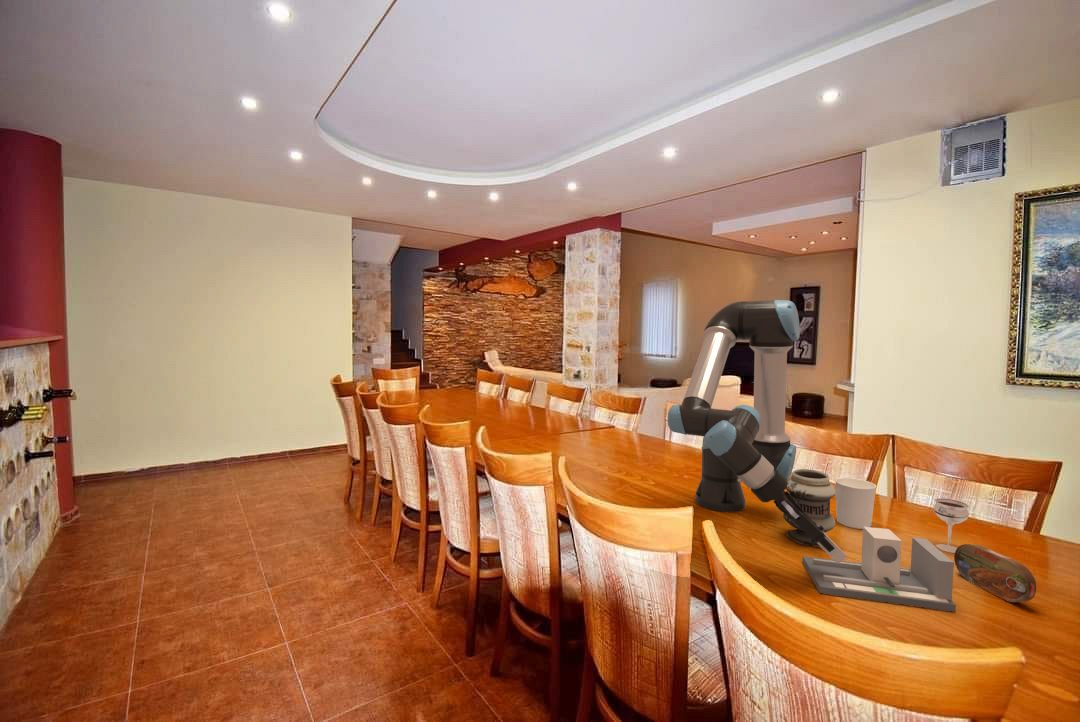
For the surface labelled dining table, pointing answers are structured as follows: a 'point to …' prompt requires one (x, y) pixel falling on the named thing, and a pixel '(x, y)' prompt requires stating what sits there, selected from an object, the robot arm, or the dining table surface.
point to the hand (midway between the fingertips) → (841, 558)
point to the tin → (995, 573)
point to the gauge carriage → (881, 555)
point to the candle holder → (854, 502)
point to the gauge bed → (916, 585)
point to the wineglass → (950, 517)
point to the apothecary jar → (810, 502)
